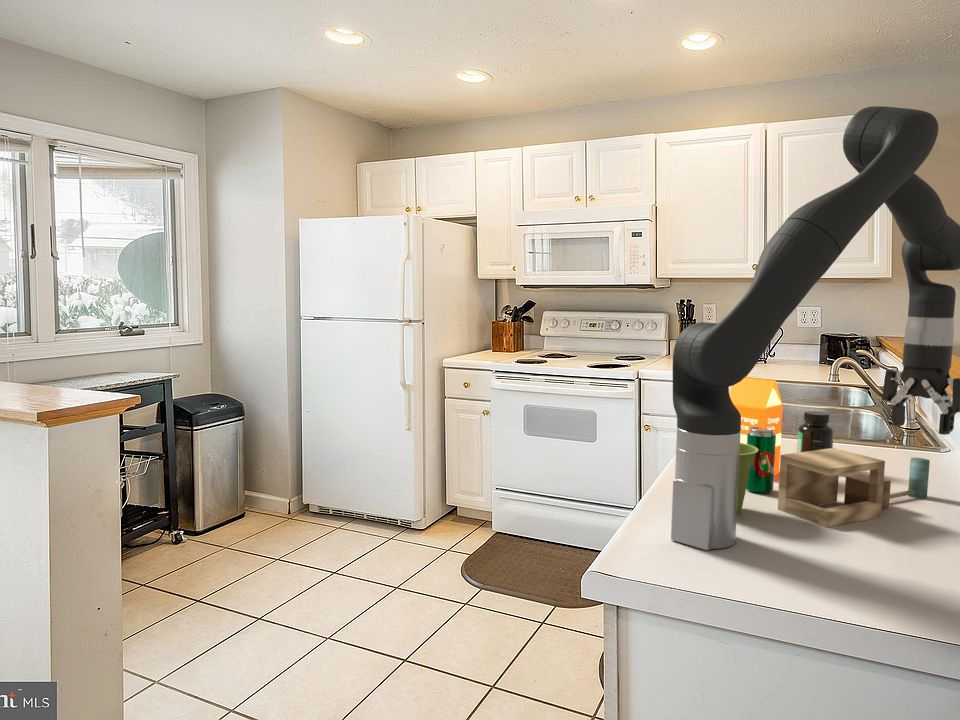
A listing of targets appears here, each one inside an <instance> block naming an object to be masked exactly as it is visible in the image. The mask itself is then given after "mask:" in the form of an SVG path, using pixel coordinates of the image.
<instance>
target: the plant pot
mask: <svg viewBox="0 0 960 720" xmlns="http://www.w3.org/2000/svg"><path fill="white" fill-rule="evenodd" d="M758 451H759V450H758V448H756V447H754V446H752V445H749V444H744V443H740V455H739V476H738V497H737V514H740V513H741V511H742V510H743V505H744V501H745V497H746V496H745V495H746V491H747V489H746V487H747V482H748V478H749V473H750V469H751V466H752V465H753V461H754V457H755V454H756V453H758Z"/></svg>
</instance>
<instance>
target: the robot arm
mask: <svg viewBox="0 0 960 720" xmlns="http://www.w3.org/2000/svg"><path fill="white" fill-rule="evenodd" d="M843 133H844V134H843V137H842V151H843V154H844V156H845V158H846V159H847V162H848V163H849V164H850V165H851V167H852V168H854V170H855V171H856V172H857V173H858V174H857V175H856V176H855V177H852V179H850V180H849V181H847V182H845V183H844V184H842V185H840V186H838V187H836V188H834V189H832V190H830V191H828V192H826V193H824V194H822V195H820V196H818V197H816V198H814V199H812V200H810V201H808V202H806V203H805V204H804V205H802V206H800V207H799V208H797V209H796V210H795V211H793V212H792V213H791V215H789V217H788V218H786V220H785V221H784V222H783V223H782V225H781V226H780V227H779V228H778V229H777V230H776V232H775V233H774V234H773V235H772V236H771V238H770V239H769V241H768V242H767V243H766V245H765V246H764V248H763V250H762V252H761V255H760V257H759V259H758V263H757V266H756V269H755V273H754V275H753V279H752V282H751V284H750V285H749V288H748V290H746V293H745V294H744V296H743V297H742V298H741V300H740V301H738V303H737V304H736V305H735V306H734V307H733V309H732V310H731V311H729V313H727V314H726V316H725V317H723V319H721V320H720V321H719V322H718V323H714V322H706V321H705V322H704V321H703V322H695V323H693V324H689V325H688V326H687V327H685V328H684V329H683V330H682V331H681V332H680V334H679V335H678V337H677V339H676V341H675V342H674V343H675V344H674V347H673V352H672V353H673V354H672V404H673V407H674V411H675V415H676V443H675V444H676V445H675V464H674V465H675V467H674V471H675V472H674V480H673V481H672V499H671V501H672V502H671V504H672V505H671V529H670V531H671V532H670V540H671V541H675V542H677V543H682V544H684V545H688V546H691V547H694V548H698V549H702V550H705V551H710V550H713V549H724V548H725V549H726V548H729V547H732V546H734V545H735V543H736V536H737V534H736V532H737V520H738V519H737V516H738V515H737V497H738V476H739V455H740V436H741V414H740V412H739V411H738V409H737V408H736V407H735V405H734V404H733V402H732V400H731V398H730V395H729V393H730V388H729V387H732V386H733V385H735V384H737V383H739V382H740V381H742V380H743V379H744V378H745V377H748V375H749V374H750V373H751V372H752V370H753V369H754V368H755V366H756V365H757V363H758V362H759V360H760V359H761V357H762V356H763V355H764V353H765V351H766V350H767V348H768V347H769V345H770V343H771V342H772V341H773V339H774V338H775V336H776V334H777V333H778V332H779V330H780V328H781V327H782V326H783V324H784V323H785V321H786V320H787V319H788V317H790V315H791V314H792V313H793V312H794V310H796V308H797V307H798V306H799V304H800V303H801V302H802V301H803V299H805V297H806V296H807V294H809V292H810V291H811V289H813V287H814V285H816V284H817V282H819V280H821V278H822V277H823V276H825V274H826V273H827V272H828V270H829V268H831V267H832V266H833V264H834V263H835V261H836V260H837V259H838V258H839V257H840V256H841V254H842V253H843V252H844V250H845V249H846V247H847V246H848V245H849V244H850V242H851V241H852V240H853V239H854V237H855V236H856V235H857V234H858V232H860V230H861V229H862V228H863V227H864V225H866V223H867V222H868V221H869V220H870V219H871V217H872V216H874V214H875V213H876V212H877V210H879V209H880V208H881V206H883V204H885V206H886V207H887V209H888V210H889V212H890V213H891V215H892V217H893V219H894V221H895V223H896V225H897V226H898V228H899V231H900V233H901V235H902V236H903V238H904V241H903V244H902V246H901V258H902V262H903V263H902V264H903V266H904V267H903V268H904V270H905V274H906V279H907V280H906V281H907V286H908V293H909V299H908V311H907V320H906V324H905V327H904V328H905V329H904V336H903V338H904V340H903V350H902V361H901V362H902V363H901V365H902V367H903V369H902V371H900V370H899V369H887V370H886V371H885V373H884V380H883V388H882V389H883V390H882V395H881V398H882V400H883V401H886V402H888V403H890V404H891V422H892V423H893V425H894V426H895V427H900V426H904V424H905V417H906V416H905V415H906V408H907V407H906V405H905V404H906V403H907V402H908V400H910V399H911V398H912V397H922V398H924V399H931V400H932V402H933V403H935V404H936V405H937V406H938V408H939V410H940V412H941V413H939V414H940V415H939V426H938V434H939V435H943V436H945V435H950V434H951V433H952V432H953V430H954V429H955V427H954V425H955V416H956V414H957V413H960V377H956V378H955V377H951V376H950V375H951V374H950V370H951V368H952V361H953V360H952V358H953V348H954V347H953V346H954V337H955V324H954V323H955V322H954V321H955V320H954V315H955V310H956V309H955V308H956V307H955V306H956V298H957V297H956V295H957V294H956V289H955V287H953V286H952V285H950V284H949V285H948V284H944V283H940V282H939V283H938V282H935V281H932V280H931V279H930V278H929V277H928V275H927V271H931V272H932V271H939V272H940V271H942V272H943V271H945V272H946V271H957V270H960V224H958V223H957V222H956V221H955V220H954V219H953V218H952V217H950V216H949V215H948V213H947V211H946V209H945V207H944V204H943V202H942V200H941V198H940V196H939V194H938V192H936V190H934V188H933V187H931V186H930V184H929V183H928V182H927V181H925V180H924V179H923V178H921V177H920V176H918V175H917V174H916V171H918V170H919V168H920V167H921V166H922V165H923V163H924V162H925V161H926V159H928V156H929V155H930V153H931V152H932V150H933V148H934V147H935V146H934V145H935V144H936V141H937V137H938V135H939V122H938V120H937V118H936V116H934V114H932V113H930V112H928V111H924V110H920V109H914V108H907V107H897V106H895V107H894V106H884V105H883V106H881V105H880V106H877V105H876V106H867V107H864V108H862V109H860V110H859V111H857V112H856V113H855V114H854V115H853V116H852V117H851V118H850V120H849V122H848V123H847V125H846V128H845V129H844V132H843ZM900 381H902V383H903V385H902V386H901V388H900V389H898V387H899V383H900ZM949 386H950V387H949ZM948 387H949V388H950V389H951V390H952V394H951V395H950V393H949V392H948V390H947V388H948Z"/></svg>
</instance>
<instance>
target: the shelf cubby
mask: <svg viewBox="0 0 960 720" xmlns="http://www.w3.org/2000/svg"><path fill="white" fill-rule="evenodd" d="M885 464H886V460H883V459H878V458H876V457H871V456H866V455H863V454H858V453H855V452H852V451H851V452H850V451H846V450H842V449H838V448H835V447H833V448H829V449H821V450H814V451H806V452H799V453H797V452H793V453H792V452H791V453H785V454H780V463H779V478H778V495H777V497H778V498H777V499H778V500H777V509H778V510H780V511H782V512H784V513H787V514H790V515H792V516H794V517H798V518H800V519H803V520H807V521H809V522H811V523H814V524H816V525H820V526H823V527H825V528H830V527H836V526H837V527H838V526H841V525H845V524H852V523H855V522H856V523H857V522H862V521H865V520H871V519H872V520H873V519H876V518H880V517H881V518H882V511H883V510H882V497H883V483H884V479H885V468H886V465H885ZM866 471H867V472H868V471H869V475H870V479H869V493H868V501H865V502H860V503H854V504H849V505H847V504H844V505H840V506H833V507H829V508H823V507H820V506H823V505H824V506H825V505H830V504H834V503H838V490H839V479H840V478H839V477H840V476H841V475H849V474H852V473H854V474H855V473H859V472H860V473H861V472H866Z"/></svg>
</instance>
